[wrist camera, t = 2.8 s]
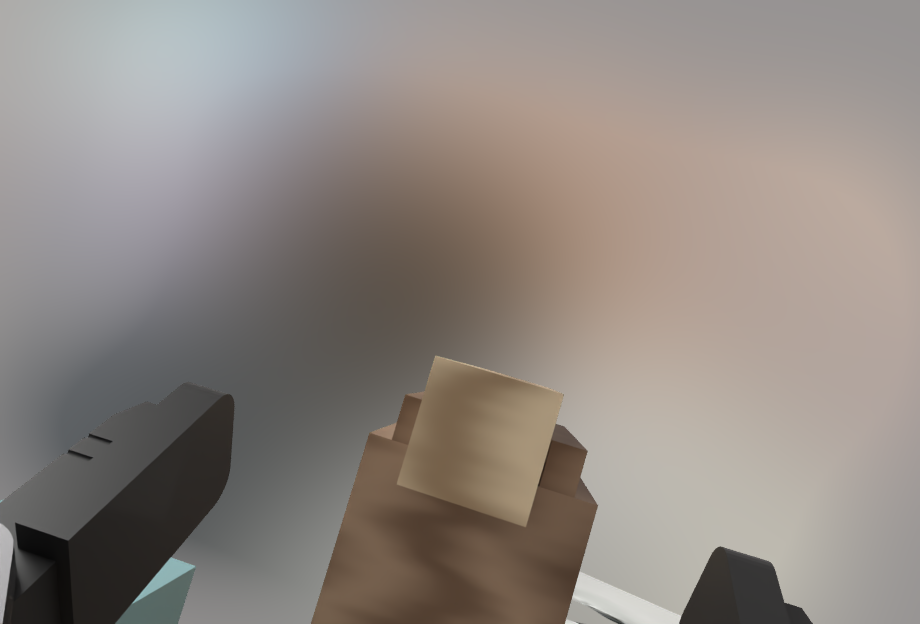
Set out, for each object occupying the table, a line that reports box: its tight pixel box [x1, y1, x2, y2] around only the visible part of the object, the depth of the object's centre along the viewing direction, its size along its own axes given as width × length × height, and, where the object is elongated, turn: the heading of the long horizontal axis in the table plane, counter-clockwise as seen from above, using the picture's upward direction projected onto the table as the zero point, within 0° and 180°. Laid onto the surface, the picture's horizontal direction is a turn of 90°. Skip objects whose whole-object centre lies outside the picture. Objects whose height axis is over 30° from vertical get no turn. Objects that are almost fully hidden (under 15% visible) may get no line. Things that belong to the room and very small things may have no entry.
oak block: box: [397, 356, 564, 527], centre depth 32 cm, size 4×25×4 cm, turn 174°
